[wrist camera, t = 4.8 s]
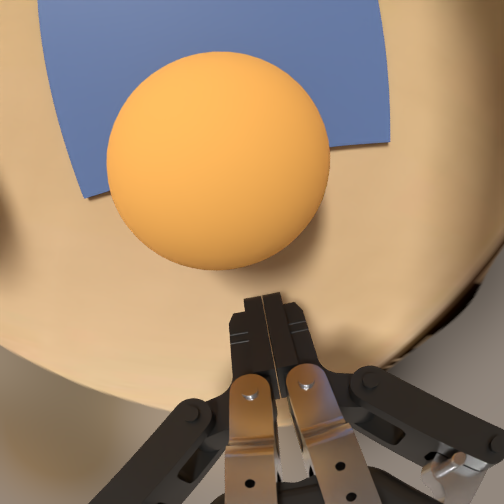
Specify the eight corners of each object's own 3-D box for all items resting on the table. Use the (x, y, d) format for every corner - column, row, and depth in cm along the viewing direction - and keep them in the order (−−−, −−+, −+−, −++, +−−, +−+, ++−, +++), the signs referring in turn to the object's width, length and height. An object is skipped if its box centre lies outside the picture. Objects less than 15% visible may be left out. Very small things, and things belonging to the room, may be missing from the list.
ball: (138, 336, 7) (176, 229, 11) (374, 286, 6) (317, 192, 11) (24, 117, 4) (125, 95, 8) (331, 2, 3) (283, 45, 8)
